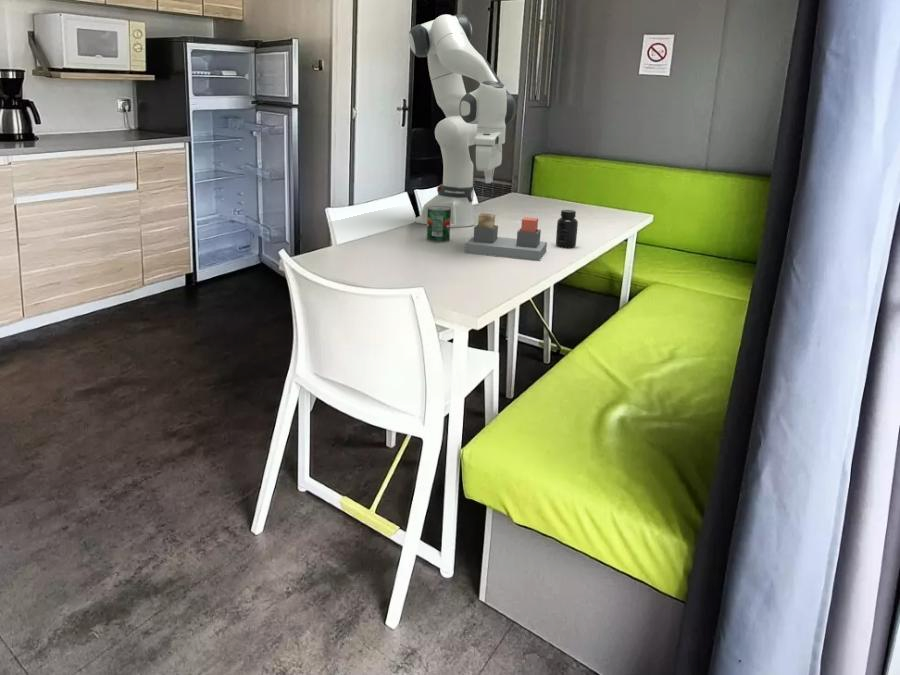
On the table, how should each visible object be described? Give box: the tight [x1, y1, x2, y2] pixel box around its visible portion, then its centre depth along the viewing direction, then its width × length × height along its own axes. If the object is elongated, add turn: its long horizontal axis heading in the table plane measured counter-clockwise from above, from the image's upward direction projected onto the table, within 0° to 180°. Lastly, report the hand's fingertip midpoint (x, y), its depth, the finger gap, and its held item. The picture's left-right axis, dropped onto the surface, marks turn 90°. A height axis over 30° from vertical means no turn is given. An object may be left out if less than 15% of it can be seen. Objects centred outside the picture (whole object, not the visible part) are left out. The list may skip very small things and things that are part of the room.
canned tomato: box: [426, 206, 451, 243], centre depth 241 cm, size 8×8×11 cm
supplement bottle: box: [555, 209, 579, 249], centre depth 240 cm, size 7×7×12 cm
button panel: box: [464, 224, 548, 261], centre depth 230 cm, size 24×14×8 cm, turn 74°
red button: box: [520, 217, 539, 233], centre depth 226 cm, size 4×4×4 cm
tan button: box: [477, 212, 496, 229], centre depth 229 cm, size 4×4×4 cm
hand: (488, 182), depth 225 cm, fingers closed
